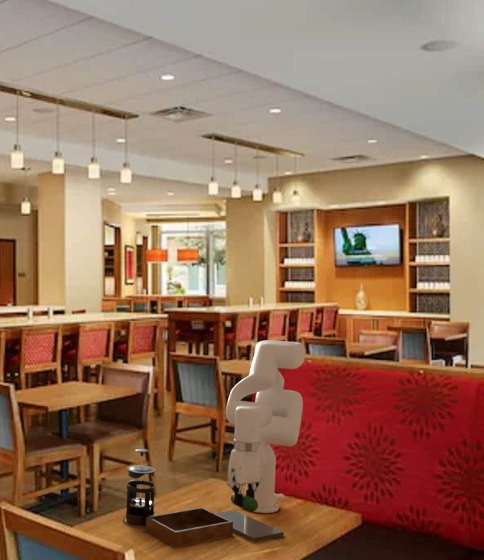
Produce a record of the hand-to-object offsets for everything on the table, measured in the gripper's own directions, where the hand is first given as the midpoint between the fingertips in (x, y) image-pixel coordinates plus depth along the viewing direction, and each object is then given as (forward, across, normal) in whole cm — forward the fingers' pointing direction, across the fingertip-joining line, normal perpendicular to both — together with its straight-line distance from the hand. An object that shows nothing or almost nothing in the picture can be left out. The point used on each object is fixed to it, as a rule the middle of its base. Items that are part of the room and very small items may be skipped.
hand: (244, 504), depth 226 cm
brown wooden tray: (+8, +19, -3) cm, 20 cm away
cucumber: (+1, 0, 0) cm, 1 cm away
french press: (+8, +27, -18) cm, 33 cm away
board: (+7, 0, 0) cm, 8 cm away
